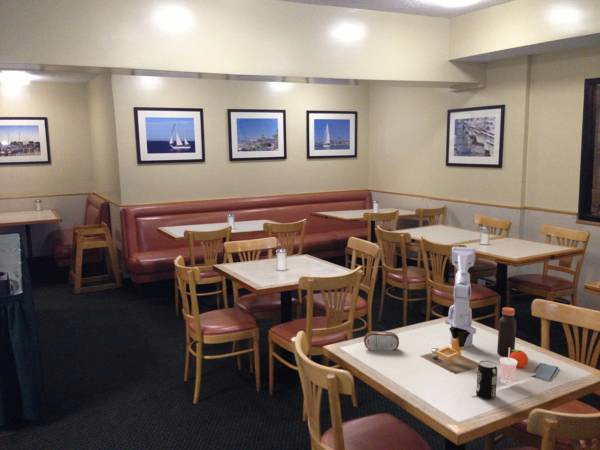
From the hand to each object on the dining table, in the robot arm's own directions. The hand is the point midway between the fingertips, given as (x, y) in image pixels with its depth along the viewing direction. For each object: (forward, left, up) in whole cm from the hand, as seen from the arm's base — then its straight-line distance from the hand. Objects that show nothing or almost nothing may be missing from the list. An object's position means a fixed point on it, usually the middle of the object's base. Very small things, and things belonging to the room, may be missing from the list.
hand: (459, 345), depth 213 cm
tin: (+20, -25, -8) cm, 33 cm away
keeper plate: (+3, -1, -7) cm, 8 cm away
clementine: (-17, +15, -8) cm, 24 cm away
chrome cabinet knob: (+7, -6, -7) cm, 11 cm away
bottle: (-24, +4, -8) cm, 26 cm away
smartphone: (-22, +24, -8) cm, 33 cm away
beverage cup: (-1, +23, -8) cm, 24 cm away
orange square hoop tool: (+4, 0, -2) cm, 4 cm away
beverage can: (+14, +26, -8) cm, 30 cm away
